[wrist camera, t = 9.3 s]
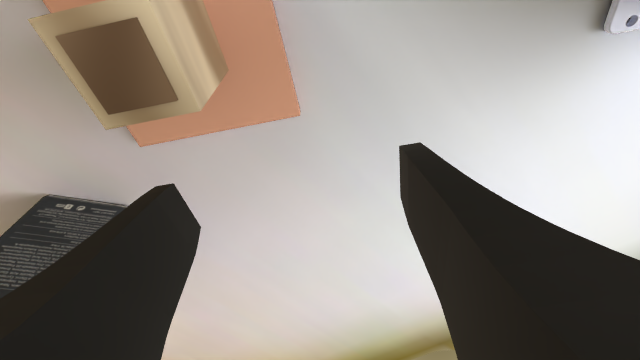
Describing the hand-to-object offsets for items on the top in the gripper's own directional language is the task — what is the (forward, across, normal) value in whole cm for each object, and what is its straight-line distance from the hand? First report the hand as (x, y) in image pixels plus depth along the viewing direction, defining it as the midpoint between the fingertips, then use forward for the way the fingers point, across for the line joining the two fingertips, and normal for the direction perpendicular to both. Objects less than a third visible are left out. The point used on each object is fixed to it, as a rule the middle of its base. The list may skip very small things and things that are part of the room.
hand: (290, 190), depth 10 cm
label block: (+8, +5, -4) cm, 11 cm away
